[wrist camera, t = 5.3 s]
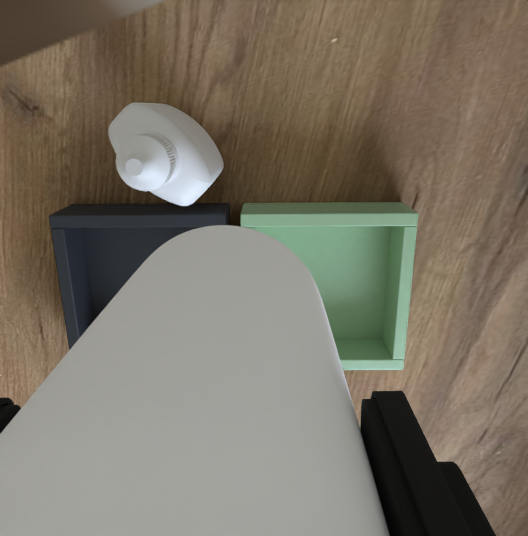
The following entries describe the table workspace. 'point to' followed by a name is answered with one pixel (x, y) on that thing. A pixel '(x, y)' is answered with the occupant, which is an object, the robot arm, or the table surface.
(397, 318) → the sage bin
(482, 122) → the table surface
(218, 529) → the can
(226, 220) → the charcoal bin
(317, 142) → the table surface
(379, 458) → the robot arm
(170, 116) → the eye dropper bottle
